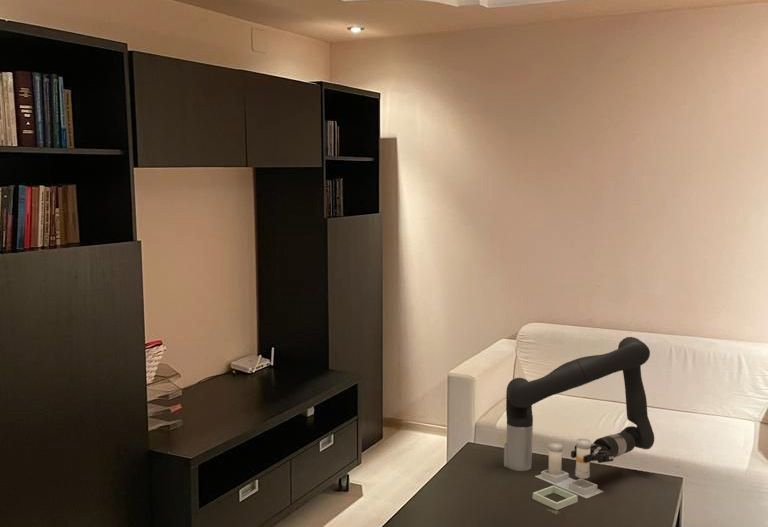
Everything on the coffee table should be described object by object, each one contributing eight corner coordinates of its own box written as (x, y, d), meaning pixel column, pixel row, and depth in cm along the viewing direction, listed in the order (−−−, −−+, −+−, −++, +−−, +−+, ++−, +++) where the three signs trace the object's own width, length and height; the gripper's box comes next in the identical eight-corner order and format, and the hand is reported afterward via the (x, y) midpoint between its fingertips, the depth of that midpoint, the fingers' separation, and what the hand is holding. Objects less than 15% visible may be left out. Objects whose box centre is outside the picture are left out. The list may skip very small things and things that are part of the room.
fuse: (546, 478, 250) (547, 445, 249) (550, 474, 254) (551, 441, 253) (559, 481, 248) (560, 447, 247) (563, 476, 252) (564, 443, 251)
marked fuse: (573, 476, 240) (575, 442, 239) (577, 472, 244) (578, 437, 243) (587, 479, 238) (589, 444, 237) (590, 474, 242) (592, 440, 241)
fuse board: (534, 480, 253) (535, 470, 252) (551, 474, 258) (552, 465, 258) (586, 502, 235) (586, 492, 235) (603, 495, 240) (603, 485, 240)
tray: (532, 503, 235) (532, 492, 234) (553, 495, 240) (553, 485, 240) (556, 514, 227) (557, 503, 226) (577, 506, 232) (577, 495, 232)
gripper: (593, 430, 254) (561, 439, 244) (628, 442, 243) (596, 452, 233) (592, 451, 255) (560, 461, 245) (627, 464, 244) (595, 475, 233)
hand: (578, 457), depth 239 cm, fingers closed on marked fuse, 4 cm apart
